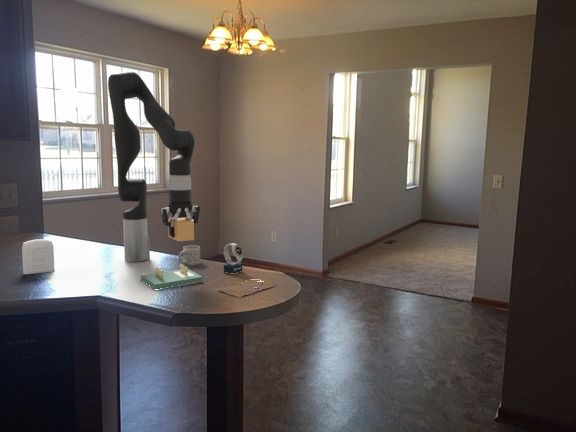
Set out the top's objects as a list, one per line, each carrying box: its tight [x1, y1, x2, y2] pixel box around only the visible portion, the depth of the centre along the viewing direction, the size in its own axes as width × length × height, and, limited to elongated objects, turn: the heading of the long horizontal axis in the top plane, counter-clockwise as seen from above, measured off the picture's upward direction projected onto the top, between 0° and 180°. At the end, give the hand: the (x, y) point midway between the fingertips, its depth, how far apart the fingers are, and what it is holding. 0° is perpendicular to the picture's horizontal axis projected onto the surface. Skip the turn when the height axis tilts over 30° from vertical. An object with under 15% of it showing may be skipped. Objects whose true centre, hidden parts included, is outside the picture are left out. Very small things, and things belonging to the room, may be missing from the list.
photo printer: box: [21, 238, 55, 275], centre depth 175 cm, size 10×4×12 cm, turn 123°
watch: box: [223, 242, 245, 274], centre depth 180 cm, size 6×8×11 cm
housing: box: [167, 217, 195, 242], centre depth 167 cm, size 6×9×6 cm, turn 35°
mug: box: [178, 244, 201, 266], centre depth 191 cm, size 10×7×7 cm, turn 145°
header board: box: [141, 263, 203, 290], centre depth 167 cm, size 17×13×5 cm
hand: (181, 236), depth 167 cm, fingers closed on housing, 5 cm apart
